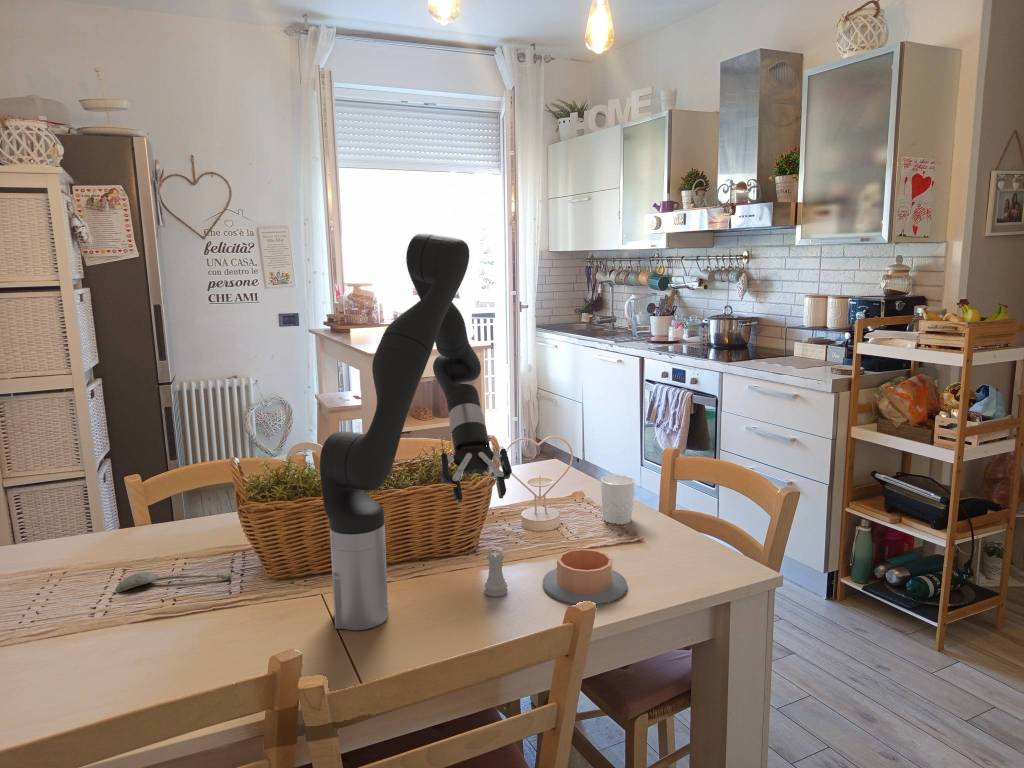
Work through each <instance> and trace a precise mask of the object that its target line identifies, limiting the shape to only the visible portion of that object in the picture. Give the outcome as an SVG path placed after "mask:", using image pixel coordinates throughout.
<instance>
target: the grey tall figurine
mask: <svg viewBox="0 0 1024 768" xmlns="http://www.w3.org/2000/svg"><path fill="white" fill-rule="evenodd" d="M486 559H487V560H488V562H489V563H488V564H487V566H488V568H489V571H488V576H487V579H486V581H485V583H484V589H483V591H484V593H485V594H486V596H488V597H492V598H501V597H504V596H505V595H506V594H507V593H508V590H509V589H508V584H507V582H506V581H505V580H506V579H505V578H504V574H503V567H504V564H503V560H504V559H505V556H504V555H503V551H502V550H499V549H496V550H495V549H492V550H489V552H488V555H487V556H486Z"/></svg>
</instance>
